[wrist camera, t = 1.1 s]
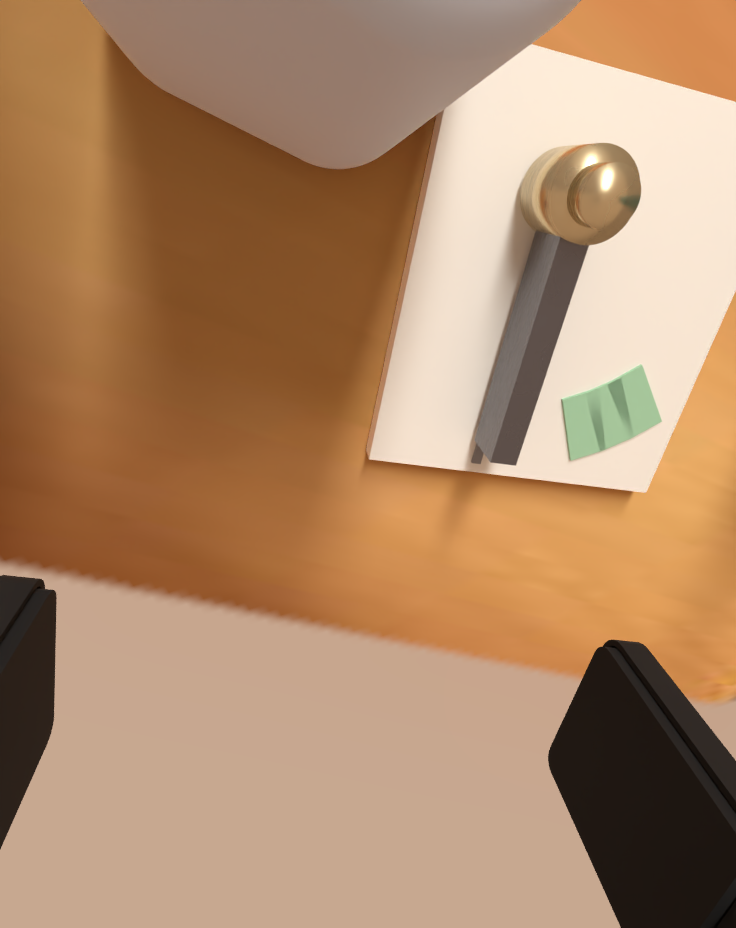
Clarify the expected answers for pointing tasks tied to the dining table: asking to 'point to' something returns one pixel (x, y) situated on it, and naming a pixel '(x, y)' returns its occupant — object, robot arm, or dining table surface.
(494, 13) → the plastic bottle
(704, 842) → the robot arm
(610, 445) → the dial plate
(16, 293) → the dining table surface
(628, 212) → the lever
